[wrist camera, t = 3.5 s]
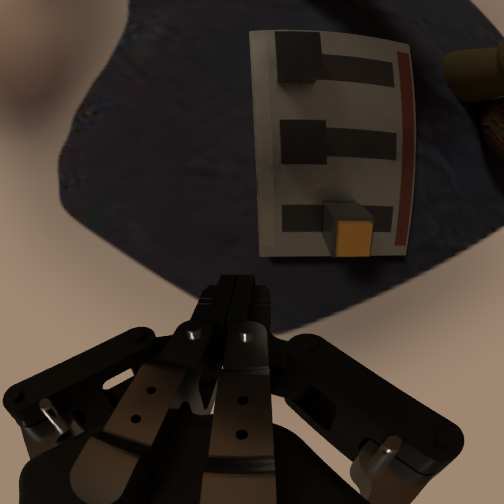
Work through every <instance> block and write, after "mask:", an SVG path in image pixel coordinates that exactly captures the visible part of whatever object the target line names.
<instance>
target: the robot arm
mask: <svg viewBox="0 0 504 504" xmlns="http://www.w3.org/2000/svg"><path fill="white" fill-rule="evenodd" d="M222 366H223V369H222ZM130 368H131V369H132V372H133V374H134V376H133V377H131V378H129V379H127V380H125V381H123V382H122V383H120V384H118V385H116V386H114V387H112V388H110V389H107V390H105V389H102V388H103V384H104V383H105V382H106V381H107V380H109V379H111V378H113V377H115V376H116V375H118V374H120V373H122V372H124V371H126V370H128V369H130ZM271 394H273V395H276V396H280V397H284V399H285V402H286V403H287V405H288V406H290V407H291V408H292V409H293V410H294V411H295V412H296V413H297V414H298V415H299V416H300V417H301V418H302V419H303V420H305V421H306V422H307V423H308V424H309V425H310V426H311V427H312V428H313V429H314V430H316V431H317V432H318V433H319V434H320V435H322V437H324V438H325V439H326V440H327V441H328V442H329V443H330V444H332V445H333V446H334V447H335V448H336V449H338V450H339V451H340V452H341V453H342V454H344V455H345V456H346V457H347V458H348V459H350V460H351V461H352V462H353V463H352V466H351V468H350V476H351V478H352V480H353V482H354V483H355V484H356V485H357V486H358V488H359V490H360V494H361V495H360V494H359V493H358V492H357V491H356V490H355V489H353V488H352V487H351V486H350V485H349V484H348V483H347V482H346V481H344V480H343V479H342V478H341V477H340V476H339V475H338V474H337V473H336V472H335V471H333V470H332V469H331V468H330V467H329V466H328V465H327V464H326V463H325V462H324V461H323V460H322V459H321V458H320V457H319V456H318V455H317V454H316V453H315V452H314V451H313V450H312V449H311V448H310V447H309V446H308V445H307V444H306V443H305V442H304V441H303V440H302V439H301V438H299V437H298V436H297V435H296V434H295V433H293V432H291V431H290V430H288V429H286V428H284V427H282V426H279V425H276V424H273V423H272V404H271ZM214 401H215V406H214V414H210V413H211V410H212V407H213V404H214ZM3 405H4V407H5V408H6V410H7V411H8V412H9V413H10V414H11V416H12V417H13V418H14V419H15V420H16V422H17V424H18V425H19V426H20V427H21V430H22V434H23V438H24V441H25V444H26V447H27V451H28V454H29V456H30V461H28V462H27V463H26V465H25V466H24V468H23V469H22V472H21V474H20V479H19V504H410V503H411V502H412V501H413V500H414V499H415V498H416V496H417V495H418V494H419V493H420V492H421V490H422V489H423V488H424V487H425V485H426V484H427V483H428V482H429V481H430V480H431V479H432V478H433V477H435V476H436V475H437V474H438V473H439V472H441V471H442V470H443V469H444V468H445V467H446V466H447V465H448V464H449V463H451V462H452V461H453V460H454V459H455V458H456V457H457V456H458V455H459V454H460V452H461V451H462V449H463V446H464V435H463V433H462V431H461V429H460V428H459V427H458V426H457V425H456V424H454V423H453V422H451V421H449V420H448V419H446V418H445V417H443V416H441V415H440V414H438V413H436V412H435V411H433V410H431V409H430V408H428V407H427V406H425V405H423V404H422V403H420V402H419V401H417V400H416V399H414V398H412V397H411V396H409V395H408V394H406V393H405V392H403V391H401V390H400V389H398V388H397V387H395V386H394V385H392V384H391V383H389V382H388V381H386V380H384V379H383V378H381V377H380V376H378V375H377V374H375V373H374V372H372V371H371V370H369V369H368V368H366V367H365V366H363V365H362V364H360V363H359V362H357V361H356V360H354V359H353V358H351V357H350V356H348V355H347V354H345V353H344V352H342V351H341V350H339V349H338V348H336V347H335V346H333V345H332V344H331V343H329V342H327V341H326V340H325V339H323V338H322V337H320V336H317V335H314V334H300V335H297V336H294V337H293V338H291V339H290V340H289V341H285V340H281V339H278V338H276V337H275V336H273V335H272V334H271V333H270V291H269V289H268V288H267V287H266V285H255V275H221V277H220V279H219V282H218V285H210V286H208V287H207V288H206V289H205V290H203V292H202V294H201V297H200V299H199V301H198V304H197V306H196V308H195V310H194V313H193V315H192V317H191V319H190V320H189V321H186V322H184V323H182V324H181V325H179V326H178V327H177V329H176V331H175V332H174V334H173V335H169V336H162V337H156V336H155V333H154V331H152V329H149V328H147V327H136V328H132V329H130V330H128V331H126V332H124V333H122V334H120V335H118V336H116V337H114V338H112V339H109V340H107V341H105V342H103V343H101V344H99V345H97V346H95V347H93V348H91V349H89V350H87V351H85V352H83V353H81V354H79V355H76V356H74V357H72V358H70V359H68V360H66V361H64V362H62V363H60V364H57V365H55V366H53V367H51V368H49V369H47V370H45V371H43V372H41V373H38V374H36V375H34V376H32V377H30V378H28V379H26V380H23V381H21V382H19V383H17V384H15V385H13V386H11V387H10V388H9V389H8V390H7V391H6V392H5V394H4V397H3Z"/></svg>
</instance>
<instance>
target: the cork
mask: <svg viewBox="0 0 504 504" xmlns="http://www.w3.org/2000/svg"><path fill="white" fill-rule="evenodd" d="M443 70H444V76H445V78H446V81H447V83H448V85H449V87H450V88H451V90H452V91H453V93H454V94H455V95H456V96H457V97H458V98H459V99H461V100H462V101H464V102H465V103H470V104H473V103H477V102H481V101H484V100H488V99H491V98H495V97H499V96H502V95H504V40H503V41H502V42H501V43H500V44H498V47H497V48H480V49H469V50H459V51H451V52H449V53H448V54H447V55H446V56H445V58H444V62H443Z"/></svg>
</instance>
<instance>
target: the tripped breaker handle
mask: <svg viewBox="0 0 504 504" xmlns="http://www.w3.org/2000/svg"><path fill="white" fill-rule="evenodd" d="M374 218H375V217H374V216H373V215H371V214H370V213H369V212H368V211H367V210H366V209H365V208H364V207H363V206H361V205H360V204H359V203H352V202H324V211H323V238H324V241H325V243H326V246H327V248H328V250H329V253H330V255H331V257H370V255H371V247H372V238H373V229H374Z"/></svg>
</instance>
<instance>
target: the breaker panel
mask: <svg viewBox="0 0 504 504" xmlns="http://www.w3.org/2000/svg"><path fill="white" fill-rule="evenodd" d="M249 35H250V53H251V72H252V92H253V113H254V134H255V156H256V178H257V202H258V227H259V253H260V257H279V256H331V255H330V253H329V250H328V248H327V246H326V243H325V241H324V238H323V211H324V202H352V203H359V204H360V205H361V206H363V207H364V208H365V209H366V210H367V211H368V212H369V213H370V214H371V215H373V216H374V217H375V218H374V229H373V238H372V247H371V255H370V256H385V255H406V250H407V244H408V237H409V230H410V222H411V214H412V205H413V194H414V180H415V161H416V113H415V94H414V81H413V71H412V62H411V54H410V47H409V45H408V44H404V43H400V42H395V41H390V40H385V39H380V38H375V37H369V36H362V35H355V34H347V33H338V32H326V31H309V30H263V31H249Z"/></svg>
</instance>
